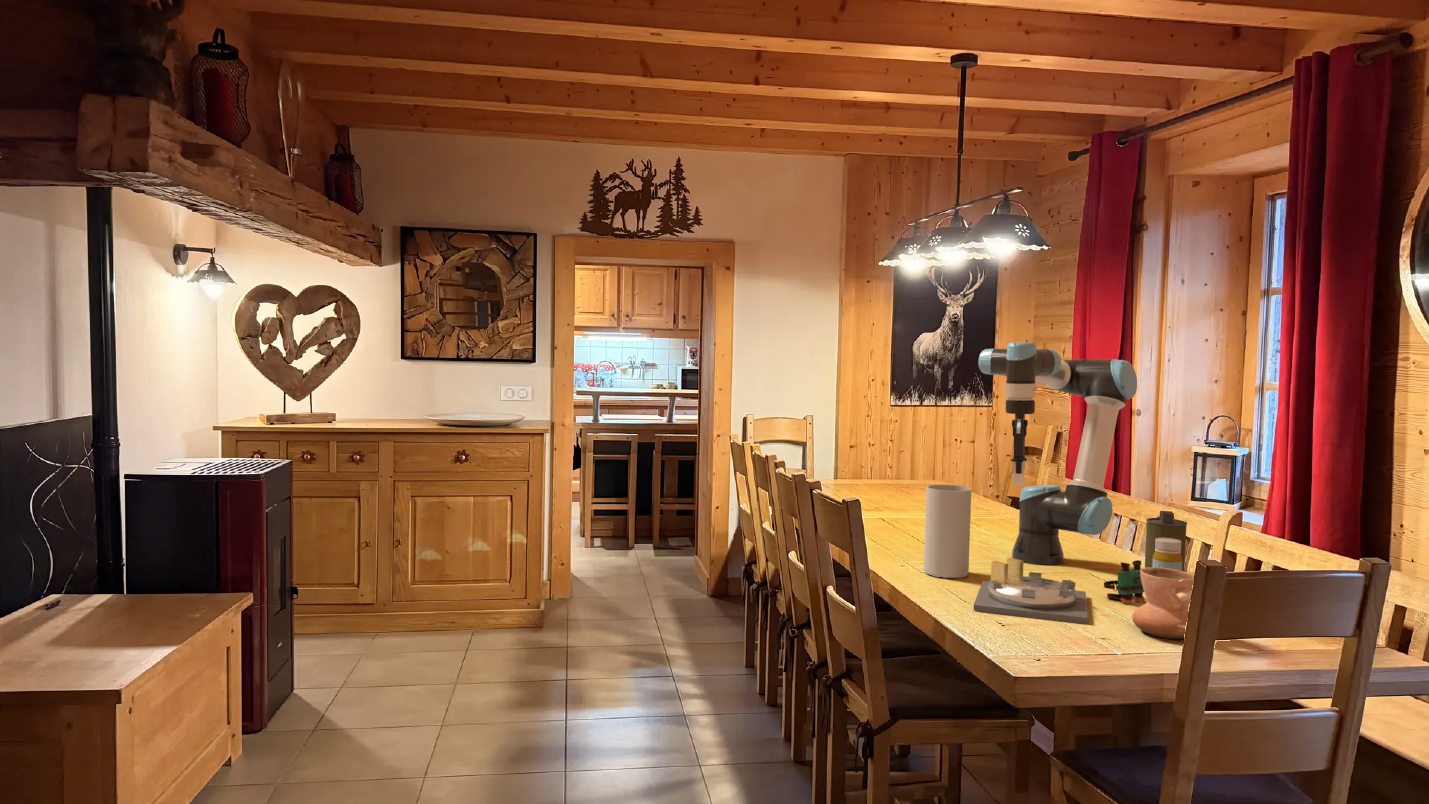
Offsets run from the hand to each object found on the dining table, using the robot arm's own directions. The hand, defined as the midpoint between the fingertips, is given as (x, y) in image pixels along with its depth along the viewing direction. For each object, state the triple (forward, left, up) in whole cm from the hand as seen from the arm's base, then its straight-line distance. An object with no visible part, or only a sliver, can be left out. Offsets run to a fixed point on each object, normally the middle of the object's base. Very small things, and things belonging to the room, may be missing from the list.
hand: (1018, 484), depth 246 cm
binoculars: (+3, +27, -28) cm, 39 cm away
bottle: (-6, +38, -28) cm, 47 cm away
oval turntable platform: (+18, +5, -26) cm, 32 cm away
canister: (-23, +39, -28) cm, 53 cm away
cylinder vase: (-5, -19, -28) cm, 34 cm away
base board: (+18, +5, -28) cm, 34 cm away
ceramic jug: (+31, +34, -28) cm, 54 cm away
